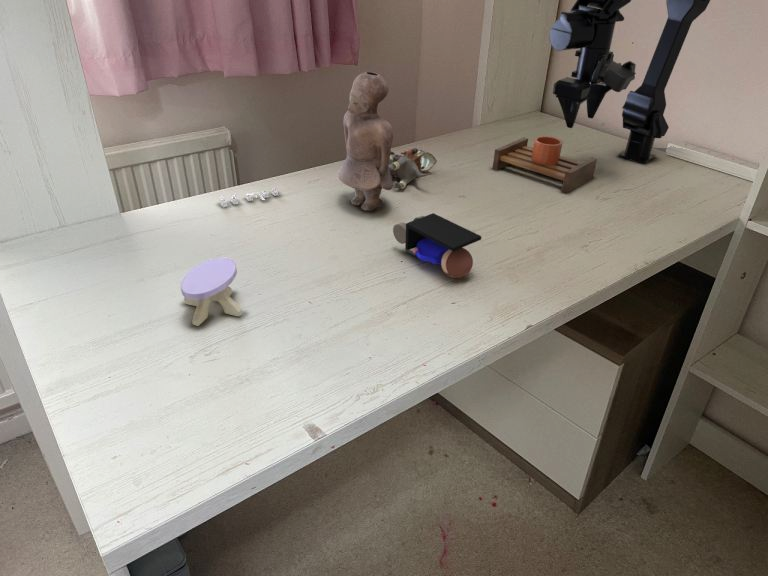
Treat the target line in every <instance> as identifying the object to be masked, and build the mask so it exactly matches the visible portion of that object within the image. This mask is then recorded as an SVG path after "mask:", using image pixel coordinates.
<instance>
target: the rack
mask: <svg viewBox="0 0 768 576" xmlns="http://www.w3.org/2000/svg"><path fill="white" fill-rule="evenodd" d="M528 142H529V138H528V137H520V138H519V139H517V140H515V141H512V142H509V143H507V144H505V145H503V146H500V147H498V148H496V149H494V154H493V160H492V161H493V162H492V168H491V169H492V170H495V171H498V170H500V169H503V168H505V167H507V166H509V165H512V166H516V167H520V168H523V169H526V170H529V171H532V172H535V173H538V174H541V175H545V176H547V177H551V178H554V179H556V180H559V181H562V187H561V193H562V194H563V193H564V194H568V193H570V192H572V191H574V190H575V189H577V188H578V187H580V186H582V185H585V184H586V183H587V182H589V181H591V180H592V179H594V176H595V171H596V167H597V164H598V163H597V162H598V158H597V157H593V156H592V157H590V158H588V159H587V160H584V161H583V162H582V161H579V160H576V159H572V158H569V157H565V156H562V155H560V158H559V162H558V164H556V165H541V164H537V163H535V162H533V161H532V153H533V147H532V146H529V145H528Z"/></svg>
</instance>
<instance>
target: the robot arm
mask: <svg viewBox="0 0 768 576" xmlns="http://www.w3.org/2000/svg"><path fill="white" fill-rule="evenodd" d="M631 2H632V0H576V2H575V3H574V4H573V6H572V7H571V9H570V11H561V12H560V16H559V18H558V19H556V20H555V21H554V23H553V24H552V26H551V28H550V29H549V42H550V45H551V47H552V48H553V49H554V50H555V51H557V52H563V51H570V50H575V53H574V57H577V64H576V68H575V70H572V71H571V75H570V77H569V76H566V77H564V78H561V79H558V80H557V81H556V82H554V83H553V88H552V94H553V95H555V98H557V100H558V102H559V106H560V108H561V111H562V114H563V117H564V120H565V121H564V122H565V124H566V125H565V126H566V127H567V128H569V129H572V128H574V125H575V122H576V120H577V116H578V114H579V109H580V107H581V104H584V102H586V112H587V118H588V119H593V118H594V117H595V115H596V113H597V112H598V110H599V108H600V105H601V104H602V102H603V100H604V98H605V97H606V94H608V93H609V92H611V91H613V92H616V93H621V92H622V91H625V90H627V88H628V87H629V86H630V83H631V82H632V81H634V80H635V79H636V74H637V73H636V66H637V64H636V63H635V62H633V61H631V60H628V61H626V62H624V63H623V64H622V63H621V62H616V61H615V60H614V57H615V54H614V51H611V46H612V42H613V37H614V33H615V28H616V24H617V22H624V21H625V16H624V15H623V14H622V13H621V11H620V10H621V9H622V8H624V7H626V6H627V5H629V4H630V3H631ZM710 2H711V0H666V2H665V3H666V10H667V18H666V21H665V25H664V27H663V28H662V31H661V34H660V36H659V40H658V42H657V44H656V47H655V51H654V52H653V55H652V58H651V60H650V62H649V65H648V68H647V70H646V73H645V76H644V78H643V81H642V83H641V85H640V86H638V88H637V89H635V90H630V91H629V92H628V93H627V96H626V100H625V102H624V104H623V105H622V107H621V109H622V112H621V117H622V128H623V129H626V130H629V135H628V139H627V143H626V147H625V150H624V151H622V152H620V153H619V154H618V157H619V158H623V159H626V160H630V161H632V162H633V161H634V162H636V163H640V164H647V163H648V162H650V161H652V160H653V159H654V158H655V157H656V155H655V154H653V153H652V151H653V147H654V144H655V141H656V140H655V139H662V137H665V136H666V134H667V132H668V130H669V129H670V128H669V124H668V122H667V121H666V118H665V116H664V114H665V111H666V107H667V100H666V93H665V91H666V87H667V85H668V82H669V80H670V77H671V75H672V72H673V70H674V68H675V65H676V63H677V60H678V58H679V55H680V53H681V50H682V49H683V45H684V43H685V42H686V41H685V40H686V39H687V35H688V33H689V31H690V28H691V26H692V25H693V23H694V21H695V20H696V19H697V18H698V17H699V16H701V15H702V14H703V13H704V12H705V11H706V9H707V8H708V6H709V4H710Z"/></svg>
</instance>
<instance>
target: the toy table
mask: <svg viewBox="0 0 768 576" xmlns="http://www.w3.org/2000/svg"><path fill="white" fill-rule="evenodd" d="M237 274H238V270H237V263H236V262H235V261H234V259H232V258H230V257H222V256H221V257H214V258H211V259H207V260H205V261H203V262H200V263H199V264H197V265H195V266H194V267H193V268H191V269H189V270H188V271H187V272H186V273H185V275H184V276H183V277H182V279H181V281H180V291H181V295H182V296H183V297H184V298H183V301H184V304H186V305H189V306H192V307H193V306H194V307H195V310H194V313H193V316H192V321H191V323H192V325H193V326H197V327H199V326H200V325H202V323H204V322H205V321H206V320H207V319H208V318H209V308H210V304H211V302H214V301H217V302H218V303H219V304H220V306H221V307H222V309H223V312H224V314H226V315H231V316H234V317H240V316H242V314H243V310H242V308H241V306H240V305H239V304H238V303H237V302H236V301H234V299H233V298H232V297H231V295H232V293H233V290H232V287H231V286H230V285H231V284H232V283H233V281H234V280H235V278H236V276H237Z"/></svg>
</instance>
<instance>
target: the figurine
mask: <svg viewBox="0 0 768 576" xmlns="http://www.w3.org/2000/svg"><path fill="white" fill-rule="evenodd" d="M437 162H438V160H437V158H436V157H435V156H434V155H433V154H432V153H430V152H428V151H425V150H423V149H418V148H416V147H413V148H411V149H410V148H409V149H407V150H401V151H400V154H396V153H395V152H394V150H391V152H390V160H389V165H388V168H389V171H390V175H391V178H392V179H394V178H396V179H398V180H400V181H399V182H398V181H396V180H395V181H394V182H393V189H401V190H403V189H406V186H407V184H409V183H410V182H412V181H413V180H414V179H415V178H416V177H419V178H422V177H423V178H424V177H427V176H430V175H432V174H433V173H432V172H431V173H430V172H429V171H430V170H431V169H432V168H433V167H434V166H435V165H436V163H437ZM425 172H429V173H425Z"/></svg>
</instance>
